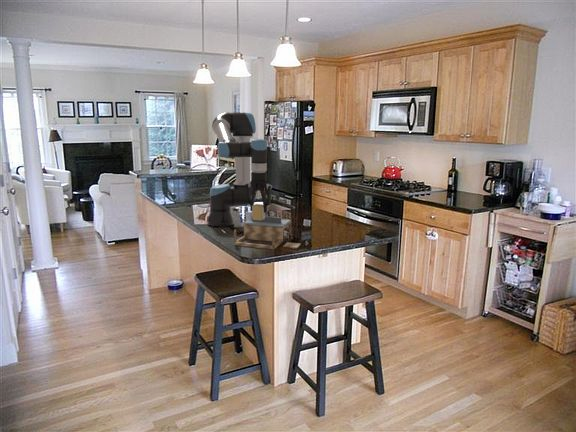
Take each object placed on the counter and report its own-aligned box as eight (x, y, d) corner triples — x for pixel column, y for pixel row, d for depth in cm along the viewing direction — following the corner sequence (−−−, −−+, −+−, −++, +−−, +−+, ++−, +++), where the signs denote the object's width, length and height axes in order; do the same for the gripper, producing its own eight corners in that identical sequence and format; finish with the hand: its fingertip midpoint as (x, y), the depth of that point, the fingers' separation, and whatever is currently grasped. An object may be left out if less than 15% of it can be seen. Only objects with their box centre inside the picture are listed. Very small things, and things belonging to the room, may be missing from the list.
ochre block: (252, 219, 214) (252, 205, 213) (256, 217, 219) (256, 204, 217) (261, 220, 213) (261, 206, 211) (264, 218, 217) (264, 204, 216)
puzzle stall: (233, 245, 215) (233, 230, 213) (254, 231, 241) (254, 218, 240) (274, 249, 209) (274, 234, 207) (291, 234, 235) (291, 221, 234)
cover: (244, 223, 225) (244, 216, 224) (253, 218, 238) (253, 211, 238) (282, 227, 219) (282, 220, 219) (290, 221, 232) (290, 214, 232)
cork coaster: (283, 247, 213) (283, 246, 212) (287, 243, 219) (287, 242, 219) (296, 248, 211) (296, 247, 210) (300, 244, 217) (300, 243, 217)
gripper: (239, 171, 209) (239, 218, 215) (273, 173, 204) (272, 221, 210) (245, 169, 216) (245, 215, 222) (278, 171, 211) (277, 218, 217)
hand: (258, 218), depth 216 cm, fingers closed on ochre block, 4 cm apart
